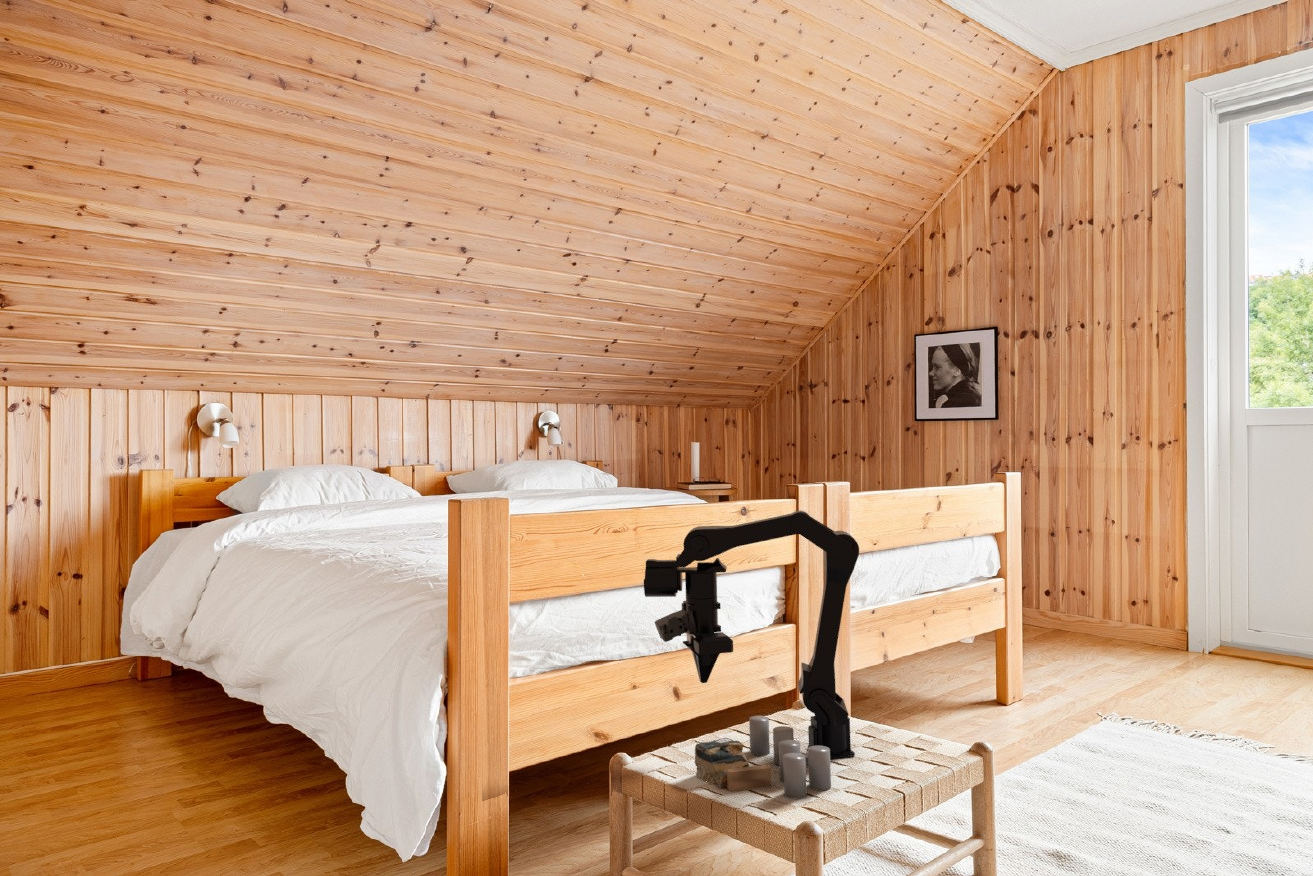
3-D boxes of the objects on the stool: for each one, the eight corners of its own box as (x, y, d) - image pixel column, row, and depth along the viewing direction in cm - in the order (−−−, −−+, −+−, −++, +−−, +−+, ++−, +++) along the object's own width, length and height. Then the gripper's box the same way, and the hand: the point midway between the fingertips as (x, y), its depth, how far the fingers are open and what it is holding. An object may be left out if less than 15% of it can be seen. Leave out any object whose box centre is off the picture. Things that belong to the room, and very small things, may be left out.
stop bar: (768, 783, 147) (767, 764, 147) (771, 786, 145) (770, 767, 145) (727, 787, 145) (726, 769, 145) (729, 791, 144) (729, 772, 144)
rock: (722, 792, 144) (721, 756, 144) (688, 774, 152) (687, 741, 152) (763, 779, 149) (762, 745, 149) (728, 763, 157) (727, 731, 157)
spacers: (786, 745, 164) (785, 713, 164) (839, 793, 141) (838, 755, 141) (742, 750, 163) (741, 717, 163) (788, 800, 140) (787, 761, 140)
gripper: (647, 591, 170) (649, 673, 170) (670, 608, 152) (672, 700, 152) (703, 587, 173) (705, 668, 172) (733, 604, 154) (735, 695, 154)
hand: (703, 682), depth 163 cm, fingers closed
